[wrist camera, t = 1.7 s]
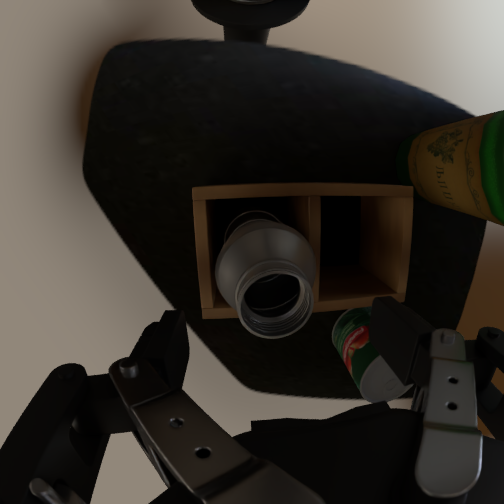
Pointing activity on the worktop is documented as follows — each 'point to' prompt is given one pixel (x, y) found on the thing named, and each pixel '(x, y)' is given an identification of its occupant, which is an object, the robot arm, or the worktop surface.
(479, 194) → the bottle
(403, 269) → the bottle rack
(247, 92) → the worktop surface
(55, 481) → the robot arm
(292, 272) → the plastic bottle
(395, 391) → the canned tomato
